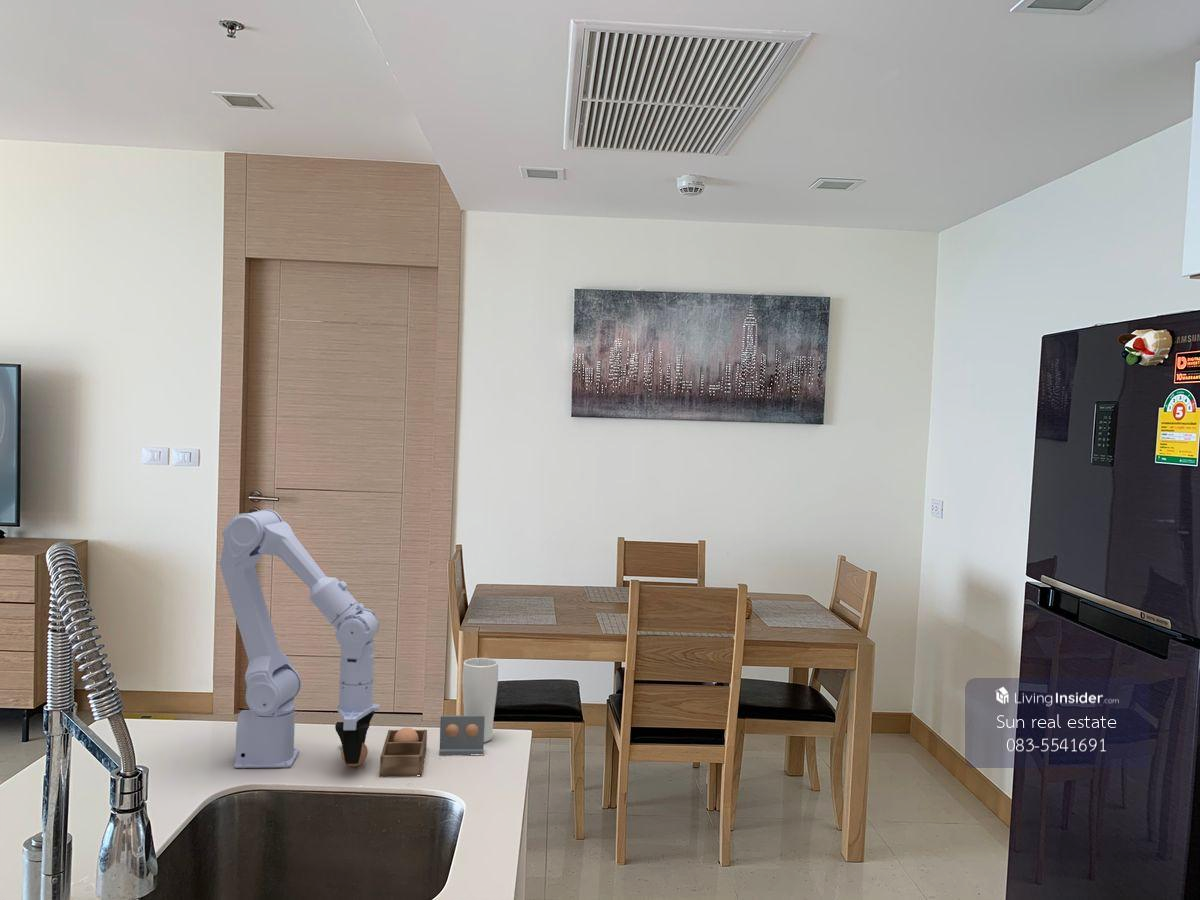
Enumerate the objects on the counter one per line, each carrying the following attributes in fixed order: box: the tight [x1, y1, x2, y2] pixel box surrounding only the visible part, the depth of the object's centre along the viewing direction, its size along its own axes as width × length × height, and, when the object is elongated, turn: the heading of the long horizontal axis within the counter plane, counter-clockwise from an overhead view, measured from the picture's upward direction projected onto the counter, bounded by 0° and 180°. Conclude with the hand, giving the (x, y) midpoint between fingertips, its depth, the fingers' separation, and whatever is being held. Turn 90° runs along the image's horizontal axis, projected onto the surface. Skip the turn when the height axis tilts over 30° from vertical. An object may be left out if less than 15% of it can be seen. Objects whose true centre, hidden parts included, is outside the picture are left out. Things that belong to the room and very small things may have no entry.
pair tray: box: [379, 729, 428, 777], centre depth 163 cm, size 7×14×4 cm, turn 7°
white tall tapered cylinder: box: [461, 657, 499, 743], centre depth 176 cm, size 7×7×15 cm
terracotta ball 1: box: [340, 743, 369, 768], centre depth 160 cm, size 4×4×4 cm
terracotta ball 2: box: [393, 727, 419, 742], centre depth 166 cm, size 4×4×4 cm
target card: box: [438, 714, 485, 756], centre depth 168 cm, size 8×3×7 cm, turn 97°
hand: (354, 757), depth 160 cm, fingers closed on terracotta ball 1, 4 cm apart
